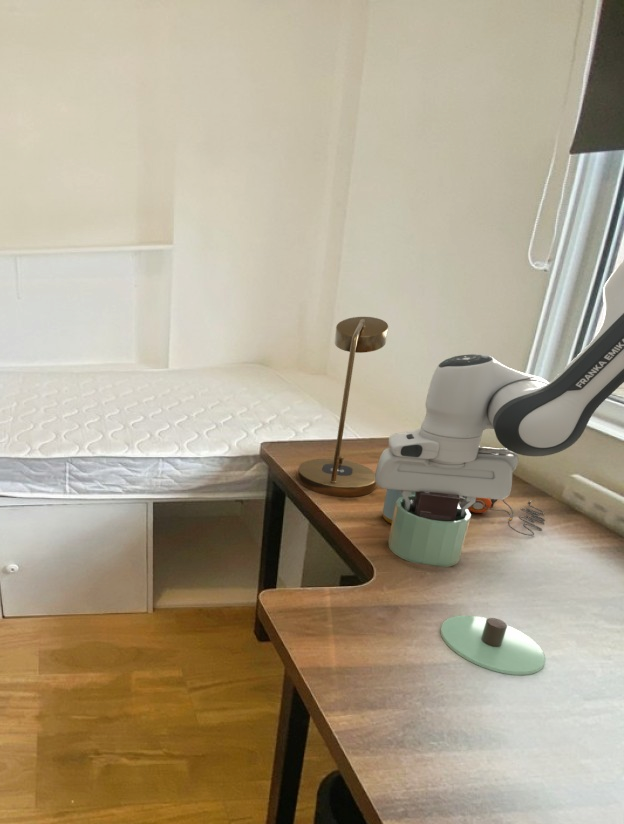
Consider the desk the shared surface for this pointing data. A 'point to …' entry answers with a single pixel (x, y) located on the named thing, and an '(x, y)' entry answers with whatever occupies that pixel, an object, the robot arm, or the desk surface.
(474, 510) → the headphones
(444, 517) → the box
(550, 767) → the desk surface
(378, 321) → the lamp
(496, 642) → the lid
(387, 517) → the bottle
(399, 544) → the canister
